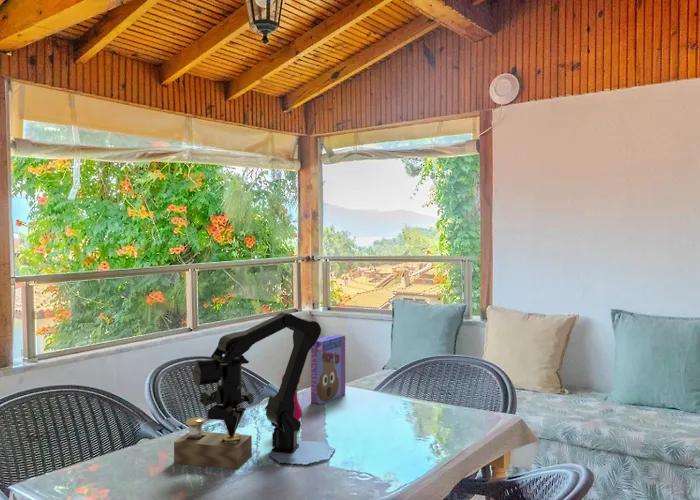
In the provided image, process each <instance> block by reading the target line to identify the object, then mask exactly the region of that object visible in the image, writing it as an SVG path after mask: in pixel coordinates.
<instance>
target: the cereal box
mask: <svg viewBox="0 0 700 500" xmlns="http://www.w3.org/2000/svg"><path fill="white" fill-rule="evenodd" d="M310 392H311V393H310V395H311V396H310V403H311V404H314V405H320V406H323V405H325V404H327V403H329V402H331V401H333V400H336V399H338V398H340V396H341V397H343V396H345V395H346V335H344V334H333V335H328V336H326V337H325V336H324V337H321V338H318V340H317V342H316V344H315V345H314V346H313V347H312V348H311V349H310ZM344 394H345V395H344ZM342 395H343V396H342Z"/></svg>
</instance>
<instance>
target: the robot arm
mask: <svg viewBox="0 0 700 500" xmlns="http://www.w3.org/2000/svg"><path fill="white" fill-rule="evenodd" d="M286 328H287V329H289V330H291V331H293V332H292V344H293V345H292V346H293V347H292V350H291V353H290V356H289V360H288V361H287V365H286V368H285V370H284V371H285V372H284V374H283V375H284V377H283V376H282V377H283V380H282V379H281V383H280V387H279V389H278V391H277V393H276V394H275V395H274V396H272V395H269V397H268V401H267V404H266V406H265V407H264V409H265V416H266V418H267V420H268V421H269V422H270V423H271V424H270V425H271V426H272V427H274V428H273V433H272V434H271V437H272V441H271V442H272V443H271V446H272V448H271V451H272V452H280V453H290V452H292V453H294V452H295V451H296V449H297V448H298V447H299V446H300V444H299V443H298V431H300V428H301V426H302V423H301V421H300V422H299V421H298V420H297V419H296V418H295V417H294V410H295V404H294V395H295V392H296V389H297V386H298V387H299V384H300V383H299V380H300V381H301V377H302V376H301V375H302V373H303V370H304V368H305V364H306V362H307V357H308V355H309V352H310V351H311V348H312V347H313V346H314V345H315V344H316V342H317V340H318V339H320V336H321V333H322V328H321V326H320V323H318V322H317V321H315V320H310V319H304V318H300V317H297V316H295V315H294V314H292V313H289V312H285V311H282V312H280V313H278V314H277V315H275V316H273V317H270V318H269V319H266V320H264V321H263V322H261V323H258V324H257V325H254V326H252V327H250V328H248V329H245V330H242V331H237V332H236V331H235V332H232V333H228V334H225V335H223V336H221V337H220V338H219V341H218V343H217V347H216V348H215V350H214V351H213V353H212V355H210V359H196V360H195V364H194V366H193V371H192V379H193V383H194V385H195V386H196V387H198V386H199V387H200V386H205V385H212V384H217V383H219V381H220V384H219V385H218V386H217V387H216V389H213V390H210V391H209V390H206V391H202V392H200V396H199V403H200V404H202V405H203V407H204V408H205V407H207V406H209V405H211V404H212V405H213V404H215V405H214V406H211V407H210V408H209V409H208V410H207V411H206V419H208V420H217V421H218V420H219V421H223V422H224V424H225V426H226V427H225V428H226V430H227V433H229V436H233V435H234V434H235V433H237V432H236V431H237V429H238V427H239V424H240V423H241V420H242V418H243V416H244V413H245V411H246V409H247V408H245V407H242V405H241V404H242V403H244V402H245V403H247V404H248V405H252V404H253V403H254V399H255V398H254V395H253V394H252V393H251V392H249V391H248V392H246V391H244V392H243V390H242V389H243V388H244V387H245V382H242V381H243V380H242V374H243V373H242V372H243V369H242V367H243V366H242V365H245V364H249V363H250V361H249V360H248V359H247V358H246V357H245V355H244V354H245V353H246V352H248V351H249V350H250V349H251V347H252V346H253V345H255V344H257V343H258V342H261V341H262V340H264V339H266V338H268V337H270V336H272V335H275V334H276V333H278V332H280V331H282V330H284V329H286ZM298 383H299V384H298ZM293 451H294V452H293Z"/></svg>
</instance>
